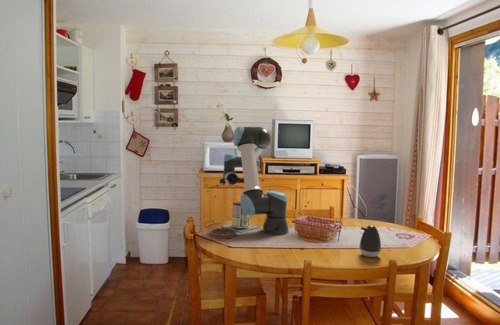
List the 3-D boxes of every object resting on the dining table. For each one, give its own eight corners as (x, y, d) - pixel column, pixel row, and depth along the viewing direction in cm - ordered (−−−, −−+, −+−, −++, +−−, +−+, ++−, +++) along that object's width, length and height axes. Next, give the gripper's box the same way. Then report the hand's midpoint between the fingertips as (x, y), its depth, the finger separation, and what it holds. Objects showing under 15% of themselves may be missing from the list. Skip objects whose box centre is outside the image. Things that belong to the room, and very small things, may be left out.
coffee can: (236, 224, 243) (237, 201, 243) (251, 226, 238) (253, 203, 238) (228, 226, 233) (229, 202, 233) (243, 228, 229) (245, 204, 229)
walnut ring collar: (241, 234, 223) (241, 232, 223) (222, 239, 212) (222, 237, 212) (223, 229, 233) (223, 226, 233) (204, 233, 222) (204, 231, 222)
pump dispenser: (355, 252, 200) (357, 222, 198) (375, 252, 200) (377, 222, 199) (362, 259, 190) (364, 228, 188) (383, 259, 190) (386, 228, 189)
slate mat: (259, 227, 239) (259, 226, 239) (240, 232, 227) (240, 231, 227) (240, 222, 250) (240, 221, 250) (221, 226, 238) (221, 226, 238)
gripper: (249, 183, 269) (257, 189, 249) (213, 184, 263) (218, 189, 243) (249, 172, 268) (257, 177, 248) (213, 172, 263) (218, 177, 242)
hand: (238, 183), depth 245 cm, fingers open, 13 cm apart
